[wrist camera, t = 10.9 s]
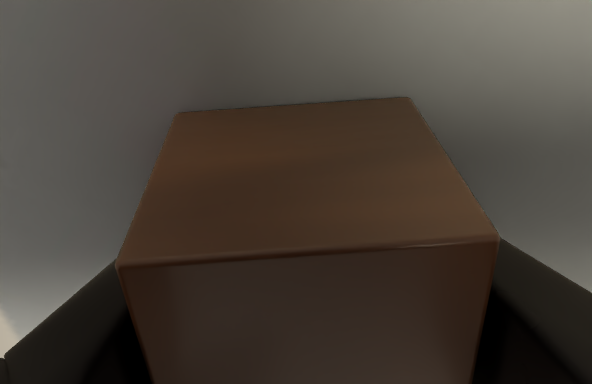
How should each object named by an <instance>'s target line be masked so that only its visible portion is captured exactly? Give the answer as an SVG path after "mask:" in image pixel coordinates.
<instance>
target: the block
mask: <svg viewBox="0 0 592 384" xmlns="http://www.w3.org/2000/svg"><path fill="white" fill-rule="evenodd" d="M499 244H500V237H499V234H498V232H497V230H496V229H495V227H494V226H493V224H492V223H491V221H490V220H489V218H488V217H487V215H486V214H485V212H484V211H483V209H482V207H481V206H480V204H479V203H478V201H477V200H476V198H475V197H474V195H473V194H472V192H471V191H470V189H469V188H468V186H467V184H466V183H465V181H464V180H463V178H462V177H461V175H460V174H459V172H458V171H457V169H456V168H455V166H454V165H453V163H452V161H451V160H450V158H449V157H448V155H447V154H446V152H445V151H444V149H443V148H442V146H441V145H440V143H439V141H438V140H437V138H436V137H435V135H434V134H433V132H432V131H431V129H430V128H429V126H428V125H427V123H426V122H425V120H424V118H423V117H422V115H421V114H420V112H419V111H418V109H417V108H416V106H415V105H414V103H413V102H412V100H411V99H410V98H408V97H401V98H387V99H372V100H357V101H343V102H328V103H314V104H299V105H284V106H270V107H255V108H240V109H226V110H211V111H197V112H182V113H177V114H175V116H174V118H173V121H172V123H171V126H170V128H169V131H168V133H167V136H166V138H165V141H164V143H163V146H162V148H161V151H160V153H159V155H158V158H157V160H156V163H155V165H154V168H153V170H152V173H151V175H150V178H149V180H148V183H147V185H146V188H145V190H144V193H143V195H142V198H141V200H140V202H139V205H138V207H137V210H136V212H135V215H134V217H133V220H132V222H131V225H130V227H129V230H128V232H127V235H126V237H125V240H124V242H123V245H122V247H121V249H120V252H119V254H118V257H117V259H116V263H115V268H116V271H117V274H118V278H119V281H120V284H121V287H122V290H123V294H124V297H125V300H126V303H127V306H128V309H129V313H130V316H131V319H132V322H133V325H134V329H135V332H136V335H137V338H138V341H139V345H140V348H141V351H142V354H143V357H144V360H145V364H146V367H147V370H148V373H149V376H150V380H151V383H152V384H472V380H473V375H474V370H475V365H476V360H477V355H478V350H479V345H480V340H481V335H482V330H483V324H484V319H485V314H486V309H487V304H488V299H489V294H490V289H491V284H492V279H493V274H494V269H495V264H496V259H497V254H498V249H499Z"/></svg>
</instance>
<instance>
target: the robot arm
mask: <svg viewBox="0 0 592 384" xmlns="http://www.w3.org/2000/svg"><path fill="white" fill-rule="evenodd" d="M115 263H116V259H115V260H114V261H113V262H112V263H111V264H110V265H108V266H107V267H106V268H105V269H104V270H103V271H101V272H100V273H99V274H98V275H97V276H95V277H94V278H93V279H92V280H91V281H90V282H88V283H87V284H86V285H85V286H84V287H83V288H81V289H80V290H79V291H78V292H77V293H76V294H74V295H73V296H72V297H71V298H70V299H69V300H67V301H66V302H65V303H64V304H63V305H62V306H60V307H59V308H58V309H57V310H56V311H54V312H53V313H52V314H51V315H50V316H49V317H47V318H46V319H45V320H44V321H43V322H42V323H40V324H39V325H38V326H37V327H36V328H35V329H33V330H32V331H31V332H30V333H29V334H28V335H26V336H25V337H24V338H23V339H22V340H21V341H19V342H18V343H17V344H16V345H15V346H13V347H12V348H11V349H10V350H9V351H8V352H6V353H5V355H4V358H5V359H4V358H0V384H152V383H151V380H150V376H149V373H148V370H147V367H146V364H145V360H144V357H143V354H142V351H141V348H140V345H139V341H138V338H137V335H136V332H135V329H134V325H133V322H132V319H131V316H130V313H129V309H128V306H127V303H126V300H125V297H124V294H123V290H122V287H121V284H120V281H119V278H118V274H117V271H116V268H115ZM472 384H592V293H591V292H589V291H588V290H586V289H584V288H583V287H581V286H579V285H578V284H576V283H574V282H573V281H571V280H569V279H568V278H566V277H564V276H563V275H561V274H559V273H558V272H556V271H554V270H553V269H551V268H549V267H548V266H546V265H544V264H543V263H541V262H540V261H538V260H536V259H535V258H533V257H531V256H530V255H528V254H526V253H525V252H523V251H521V250H520V249H518V248H516V247H515V246H513V245H511V244H510V243H508V242H506V241H505V240H503V239H501V238H500V244H499V249H498V254H497V259H496V264H495V269H494V274H493V279H492V284H491V289H490V294H489V299H488V304H487V309H486V314H485V319H484V324H483V330H482V335H481V340H480V345H479V350H478V355H477V360H476V365H475V370H474V375H473V380H472Z"/></svg>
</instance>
